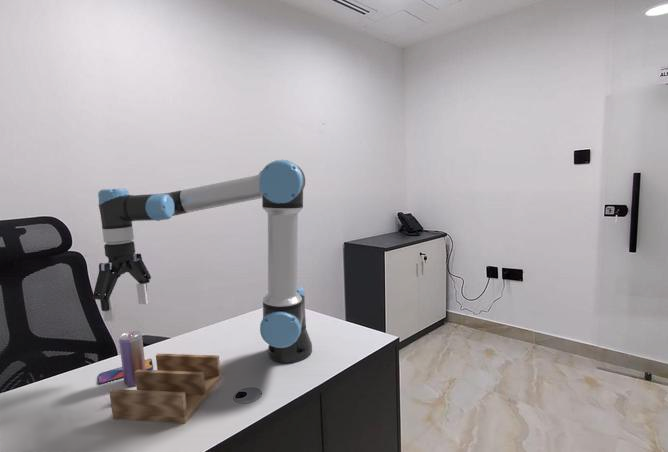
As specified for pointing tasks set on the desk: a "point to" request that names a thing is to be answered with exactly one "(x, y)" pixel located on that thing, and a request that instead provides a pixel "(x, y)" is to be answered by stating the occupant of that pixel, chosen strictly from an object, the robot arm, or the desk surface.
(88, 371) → the desk surface
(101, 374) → the smartphone
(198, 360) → the rack
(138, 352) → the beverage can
